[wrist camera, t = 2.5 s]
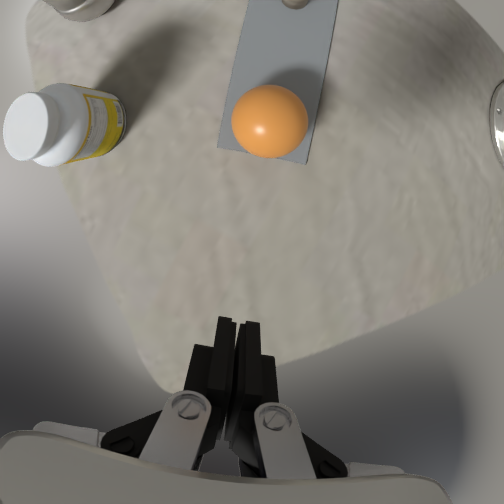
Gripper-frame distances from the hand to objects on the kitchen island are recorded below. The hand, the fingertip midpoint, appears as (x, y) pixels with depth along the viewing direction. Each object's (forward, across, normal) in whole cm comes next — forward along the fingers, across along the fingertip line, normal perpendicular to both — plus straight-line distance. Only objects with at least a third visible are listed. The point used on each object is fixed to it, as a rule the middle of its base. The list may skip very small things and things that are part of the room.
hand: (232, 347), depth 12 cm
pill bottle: (+18, +16, -8) cm, 25 cm away
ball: (+15, 0, -10) cm, 18 cm away
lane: (+18, 0, -18) cm, 25 cm away
